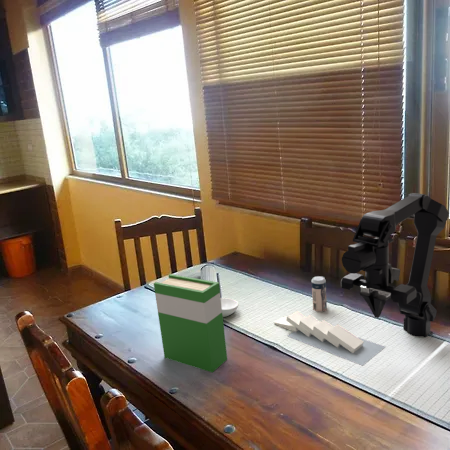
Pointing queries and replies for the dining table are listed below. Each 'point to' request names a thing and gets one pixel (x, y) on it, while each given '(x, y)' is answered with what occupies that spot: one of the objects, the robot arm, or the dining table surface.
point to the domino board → (341, 348)
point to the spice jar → (319, 293)
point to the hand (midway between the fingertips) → (377, 317)
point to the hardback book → (191, 321)
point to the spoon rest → (228, 306)
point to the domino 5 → (345, 338)
